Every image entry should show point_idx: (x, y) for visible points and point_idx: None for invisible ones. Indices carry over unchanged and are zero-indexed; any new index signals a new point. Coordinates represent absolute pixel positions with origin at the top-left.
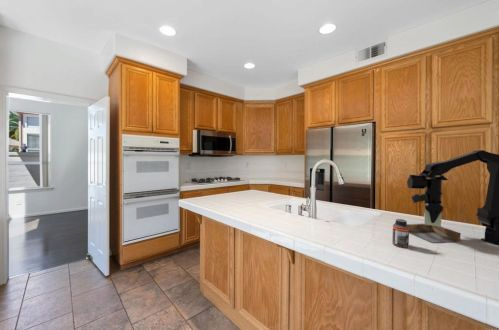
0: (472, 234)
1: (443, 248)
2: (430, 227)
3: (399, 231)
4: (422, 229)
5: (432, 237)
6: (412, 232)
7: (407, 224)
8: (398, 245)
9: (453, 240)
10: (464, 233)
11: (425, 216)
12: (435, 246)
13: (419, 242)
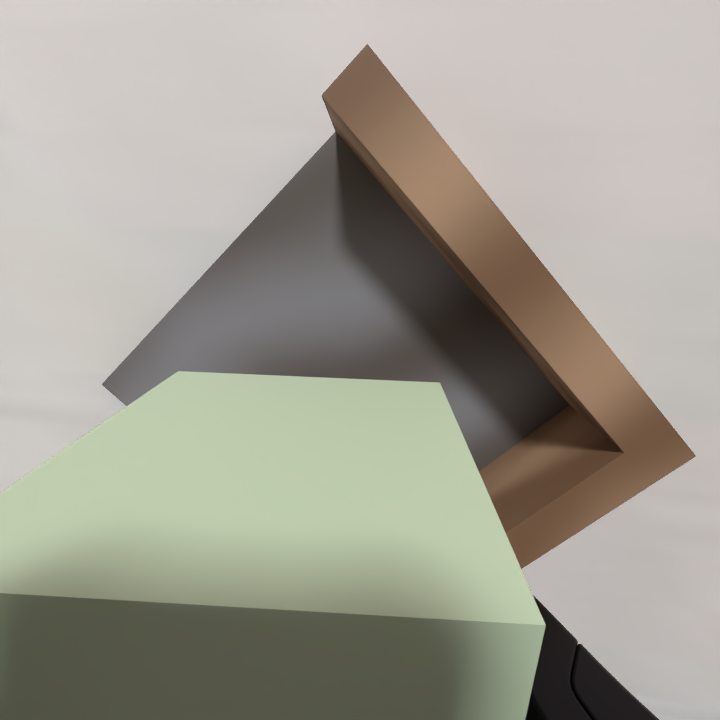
0: (673, 706)
1: (23, 452)
2: (591, 423)
3: None
4: (501, 320)
5: None
6: (356, 191)
7: (365, 75)
8: None
9: None
10: (677, 663)
11: (56, 475)
12: (23, 397)
13: (22, 263)
